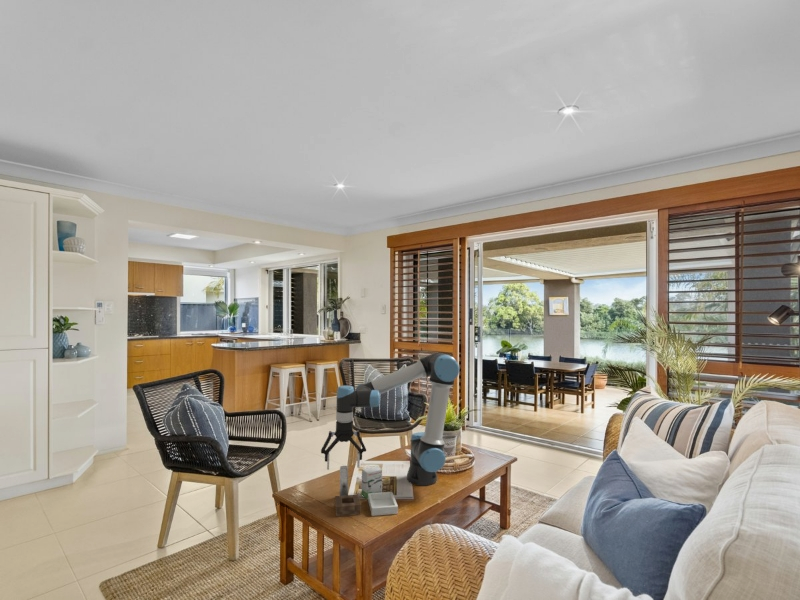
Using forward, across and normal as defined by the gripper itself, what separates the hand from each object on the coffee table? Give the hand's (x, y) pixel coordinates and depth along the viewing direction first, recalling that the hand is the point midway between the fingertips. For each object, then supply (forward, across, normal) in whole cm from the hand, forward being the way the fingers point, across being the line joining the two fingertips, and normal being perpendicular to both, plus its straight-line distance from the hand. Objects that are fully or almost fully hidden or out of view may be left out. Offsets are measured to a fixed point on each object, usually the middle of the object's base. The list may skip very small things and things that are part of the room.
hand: (343, 467), depth 191 cm
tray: (+14, -16, +11) cm, 24 cm away
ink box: (+14, -14, -2) cm, 19 cm away
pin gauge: (+14, 0, 0) cm, 14 cm away
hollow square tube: (+14, -2, +11) cm, 18 cm away
